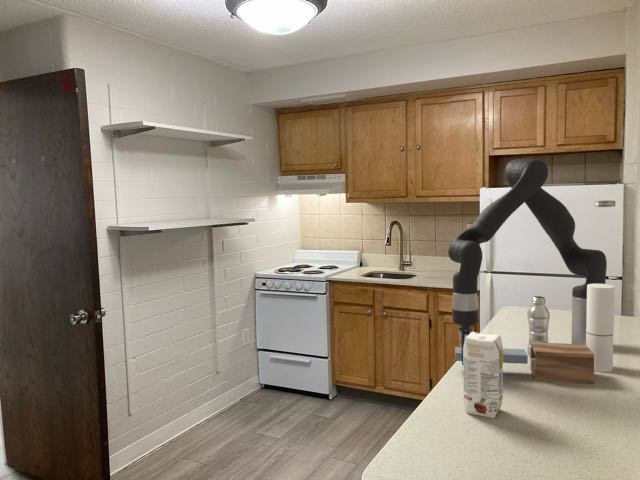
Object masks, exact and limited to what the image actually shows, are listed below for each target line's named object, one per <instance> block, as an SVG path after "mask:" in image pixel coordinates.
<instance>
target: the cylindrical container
mask: <svg viewBox="0 0 640 480" xmlns="http://www.w3.org/2000/svg"><path fill="white" fill-rule="evenodd" d="M614 321H615V285H613V284H606V283H605V284H588V285H587V320H586V325H587V326H586V346H587V347H588V348H589V349H590V350H591V351H592V352H593V353H594V372H598V373H611V372H612V371H613V369H614V368H613V367H614V366H613V365H614V364H613V363H614V361H613V360H614V332H615V331H614V326H615V322H614Z"/></svg>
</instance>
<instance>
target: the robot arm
mask: <svg viewBox="0 0 640 480" xmlns="http://www.w3.org/2000/svg"><path fill="white" fill-rule="evenodd" d="M504 176H505V179H506V182H507V184H508V186H510V188H511V189H510V190H508V192H506V193H505V194H503V195H502V196H500V197H499V198H497V199H496V200H494V201H492V203H490V204H488V205H487V206H486V207H485V208H484V209H483V210H482V211H481V212H480V214H479V215H478V216H477V217H476V218H475V219H474V221H473V222H472V223H471V225H470V226H468V227H467V228H465V229H464V230H463V231H462V232H460V233H459V235H457V236H456V237H454V239H453V240H452V241H451V243H450V245H449V246H448V250H447V253H448V257H449V258H450V260H451V261H452V262H454V263H457V264H460V267H459V271H457V272H455V273H454V274H453V276H452V299H451V310H452V311H451V313H452V314H451V320H452V323H453V324H455V325H459V327H458V331H457V332H458V338H459V346H460V347H462V350H461V352H462V361H461V365H462V366H463V347H464V342H465V338H466V337H467V336H468V335H469V334H470V333H472V332H474V331H473V328H472V327H471V326H476V325H478V323H479V296H478V278H479V275H480V270H481V267H482V262H483V250H482V247H481V244H483V243H488V242H489V241H490V240H492V238H493V237H494V236H495V235H496V233H497V232H498V231H499V230H500V228H501V227H502V226H503V225H504V224H505V222H506V221H507V220H508V219H509V218H510V217H511V216H512V214H513V213H514V212H516V210H518V209H519V208H520V207H521V206H522V205H524V203H525V204H526V206H527V207H528V208H529V210H530V212H531V214H533V216H534V217H535V218H536V220H537V222H538V223H539V225H540V226H541V228H542V229H543V231H544V232H545V234H546V235H547V236H548V237H549V238H550V240H551V241H552V243H553V245H554V246H555V248H556V249H557V251H558V253H559V254H560V256H561V258H562V260H563V262H564V264H565V266H566V268H567V269H568V271H570V273H571V274H573V275H575V276H580V277H586V278H585V282H584V284H582V285H576V286H574V287H573V288H572V293H571V295H572V296H571V344H585V345H586V326H587V325H586V320H587V285H588V284H606V281H607V280H606V278H607V265H608V263H607V262H608V261H607V257H606V254H605V253H604V252H603V251H602V250H600V249H591V248H590V249H588V248H582V247H580V246H579V245H578V243H577V242H576V241H575V240H574V235H575V230H576V222H575V219H574V217H573V215H572V214H571V212H570V211H569V210H568V208H567V207H566V206H565V204H564V203H562V202H561V201H560V200H559V199H557V198H556V197H555V196H553V195H552V194H551V193H549V192H547V191H546V190H545V189H544V188H543V186H544V184H545V183H546V181H547V179H548V177H549V167H548V165H547V163H546V162H545V161H544V160H542V159H537V158H515V159H512V160H511V161H509V162H508V163H507V164H506V165H505V169H504Z"/></svg>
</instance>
